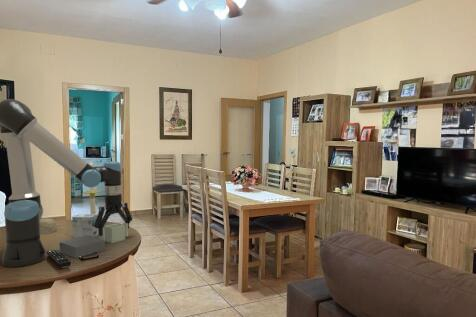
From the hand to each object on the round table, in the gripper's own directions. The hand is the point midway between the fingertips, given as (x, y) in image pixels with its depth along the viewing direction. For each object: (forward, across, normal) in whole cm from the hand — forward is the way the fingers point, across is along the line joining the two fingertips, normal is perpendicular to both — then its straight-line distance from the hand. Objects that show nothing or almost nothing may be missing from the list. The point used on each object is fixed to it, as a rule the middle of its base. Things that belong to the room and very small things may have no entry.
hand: (114, 238), depth 168 cm
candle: (+1, +4, +26) cm, 26 cm away
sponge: (+1, -13, +42) cm, 44 cm away
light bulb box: (+1, -5, +17) cm, 18 cm away
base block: (+1, -18, -4) cm, 18 cm away
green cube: (+1, 0, 0) cm, 1 cm away
